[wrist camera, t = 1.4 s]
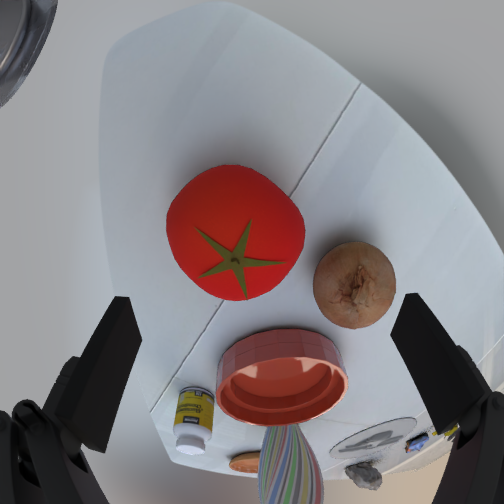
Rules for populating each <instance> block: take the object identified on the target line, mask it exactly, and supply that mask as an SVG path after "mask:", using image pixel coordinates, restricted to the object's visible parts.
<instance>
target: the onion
mask: <svg viewBox="0 0 504 504" xmlns="http://www.w3.org/2000/svg"><path fill="white" fill-rule="evenodd" d="M313 293H314V297H315V300H316V302H317V305H318V307H319V309H320V310H321V312H322V313H323V315H324V316H325V317H326V318H327V319H329V320H330V321H331V322H332V323H334V324H336V325H338V326H340V327H344V328H349V329H357V328H363V327H367V326H370V325H372V324H374V323H375V322H376V321H378V320H379V319H380V318H381V317H382V316H383V315H384V314H385V313H386V312H387V311H388V309H389V308H390V306H391V304H392V302H393V299H394V295H395V293H396V278H395V273H394V269H393V266H392V264H391V262H390V261H389V259H388V258H387V257H386V255H384V253H382V252H381V251H380V250H379V249H378V248H376V247H374V246H372V245H370V244H367V243H364V242H348V243H343V244H340V245H338V246H336V247H335V248H333V249H332V250H330V251H329V252H328V253H327V254H326V255H325V256H324V257H323V258H322V259H321V261H320V262H319V264H318V266H317V268H316V271H315V274H314V279H313Z"/></svg>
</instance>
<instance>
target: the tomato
mask: <svg viewBox="0 0 504 504" xmlns="http://www.w3.org/2000/svg"><path fill="white" fill-rule="evenodd" d="M166 232H167V237H168V241H169V244H170V247H171V250H172V253H173V256H174V258H175V260H176V262H177V263H178V265H179V267H180V268H181V269H182V270H183V271H184V272H185V274H186V275H187V276H188V277H189V278H190V279H191V280H192V281H193V282H194V283H196V284H197V285H198V286H199V287H200V288H202V289H203V290H204V291H206V292H207V293H209V294H211V295H213V296H215V297H218V298H221V299H225V300H231V301H242V300H248V299H252V298H255V297H258V296H260V295H262V294H264V293H267V292H269V291H271V290H272V289H273V288H274V287H276V286H277V285H278V284H279V283H280V282H281V281H282V280H283V279H284V278H285V276H286V275H287V274H288V273H289V271H290V270H291V269H292V267H293V266H294V264H295V263H296V261H297V259H298V257H299V255H300V253H301V251H302V249H303V246H304V239H305V225H304V220H303V217H302V215H301V213H300V211H299V209H298V207H297V206H296V205H295V204H294V203H293V202H292V200H291V199H290V198H289V197H288V196H287V195H286V194H285V193H284V192H283V191H282V190H281V189H280V188H279V187H278V186H276V185H275V184H274V183H273V182H272V181H270V180H269V179H268V178H266V177H265V176H264V175H262V174H260V173H259V172H257V171H255V170H253V169H251V168H248V167H244V166H240V165H221V166H217V167H214V168H211V169H209V170H207V171H205V172H203V173H201V174H199V175H198V176H196V177H195V178H194V179H193V180H191V181H190V182H189V183H188V184H187V185H186V186H185V187H184V188H183V189H182V190H181V191H180V192H179V193H178V195H177V196H176V197H175V199H174V200H173V202H172V203H171V205H170V208H169V210H168V213H167V219H166Z"/></svg>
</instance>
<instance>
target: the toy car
mask: <svg viewBox="0 0 504 504" xmlns="http://www.w3.org/2000/svg"><path fill="white" fill-rule="evenodd" d="M421 437H422V436H421ZM421 437H420V438H418V439H416V440H415V441H413V442H411V440H409V441H407V447H406V448H405V450H406V453H409V452H411V451H415V450H418V451H420V448H421V447H423V445H424V443H425V442H426V441H427V440H429V437H428V434H427V433H425V434H423V438H421Z"/></svg>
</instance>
